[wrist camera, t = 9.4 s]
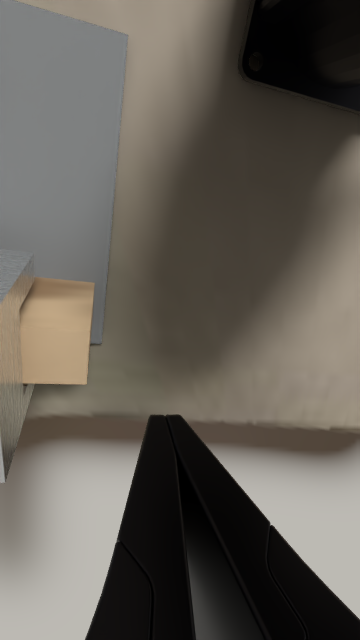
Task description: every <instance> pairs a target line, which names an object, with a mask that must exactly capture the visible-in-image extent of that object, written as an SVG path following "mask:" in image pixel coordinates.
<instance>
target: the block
mask: <svg viewBox="0 0 360 640" xmlns="http://www.w3.org/2000/svg"><path fill="white" fill-rule="evenodd" d="M94 286H95V283H92V282H82V281H72V280H61V279H51V278H41V277H35V280H34V282H33V284H32V286H31V288H30V290H29V292H28V294H27V296H26V298H25V299H24V301H23V303H22V305H21V307H20V309H19V316H20V336H21V355H22V375H23V383H34V384H87V374H88V363H89V352H90V341H91V330H92V316H93V301H94Z"/></svg>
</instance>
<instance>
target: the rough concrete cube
mask: <svg viewBox="0 0 360 640" xmlns="http://www.w3.org/2000/svg"><path fill="white" fill-rule="evenodd" d="M34 280H35V269H34V253H30V252H22V251H13V250H5V249H0V483H5V482H6V478H7V475H8V471H9V469H10V465H11V462H12V458H13V455H14V452H15V449H16V445H17V442H18V439H19V435H20V432H21V429H22V425H23V422H24V419H25V416H26V412H27V409H28V406H29V402H30V399H31V396H32V392H33V389H34V386H35V384H34V383H23V375H22V355H21V336H20V316H19V309H20V307H21V305H22V303H23V301H24V299H25V298H26V296H27V294H28V292H29V290H30V288H31V286H32V284H33V282H34Z"/></svg>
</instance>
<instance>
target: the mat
mask: <svg viewBox="0 0 360 640" xmlns="http://www.w3.org/2000/svg"><path fill="white" fill-rule="evenodd" d="M127 41H128V35H127V34H124V33H121V32H117V31H114V30H111V29H107V28H104V27H101V26H97V25H94V24H91V23H87V22H84V21H81V20H78V19H74V18H71V17H68V16H64V15H61V14H58V13H54V12H51V11H48V10H44V9H41V8H38V7H34V6H31V5H28V4H24V3H21V2H18V1H14V0H0V249H5V250H13V251H22V252H30V253H34V269H35V277H41V278H51V279H61V280H72V281H82V282H92V283H95V286H94V301H93V316H92V330H91V341H90V343H94V344H102V333H103V321H104V310H105V298H106V286H107V274H108V263H109V251H110V239H111V228H112V216H113V204H114V193H115V181H116V169H117V158H118V146H119V134H120V123H121V111H122V99H123V88H124V76H125V64H126V53H127Z"/></svg>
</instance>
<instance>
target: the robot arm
mask: <svg viewBox="0 0 360 640" xmlns="http://www.w3.org/2000/svg"><path fill="white" fill-rule="evenodd" d="M251 55H255V56H256V57H257V59H258V61H259V62H258V68H257V70H256V71H253V70H252V69H251V68H250V66H249V59H250V57H251ZM238 70H239V74H240V75H241V77H242V78H243V79H244V80H246V81H247V82H251V83H254V84H257V85H261V86H264V87H268V88H271V89H275V90H278V91H282V92H285V93H288V94H292V95H295V96H299V97H302V98H306V99H309V100H312V101H316V102H319V103H323V104H326V105H330V106H333V107H336V108H340V109H343V110H347V111H350V112H354V113H357V114H360V0H251V4H250V9H249V13H248V18H247V23H246V27H245V32H244V37H243V41H242V46H241V50H240V55H239V60H238ZM85 640H360V619H359V618H358V617H357V616H356V615H355V614H354V613H353V612H352V611H351V610H350V609H349V608H348V607H347V606H346V605H345V604H344V603H343V602H342V601H341V600H340V599H339V598H338V597H337V596H336V595H335V594H334V593H333V592H332V591H331V590H330V589H329V588H328V587H327V586H326V585H325V584H324V582H323V581H322V580H321V579H320V578H319V577H318V576H317V575H316V574H315V573H314V572H313V571H312V570H311V569H310V568H309V566H308V565H307V564H306V563H305V562H304V561H303V560H302V559H301V558H300V557H299V555H298V554H297V553H296V552H295V551H294V550H293V548H292V547H291V546H290V545H289V544H288V543H287V542H286V540H285V539H284V538H283V537H282V536H281V535H280V534H279V532H278V531H277V530H276V529H275V527H274V526H273V525H271V526H270V522H269V521H268V519H267V518H266V517H265V516H264V514H263V513H262V512H261V511H260V510H259V508H258V507H257V506H256V505H255V504H254V503H253V501H252V500H251V499H250V498H249V496H248V495H247V494H246V493H245V492H244V490H243V489H242V488H241V487H240V486H239V485H238V483H237V482H236V481H235V480H234V479H233V477H232V476H231V475H230V474H229V472H228V471H227V470H226V469H225V468H224V467H223V465H222V464H221V463H220V462H219V460H218V459H217V458H216V457H215V456H214V455H213V453H212V452H211V451H210V450H209V449H208V447H207V446H206V445H205V444H204V442H203V441H202V440H201V439H200V438H199V437H198V435H197V434H196V433H195V432H194V430H193V429H192V428H191V427H190V426H189V424H188V423H187V422H186V421H185V420H184V419H183V417H182V416H180V415H166V416H164V415H150V416H149V419H148V423H147V427H146V430H145V434H144V438H143V442H142V446H141V450H140V453H139V457H138V461H137V465H136V469H135V473H134V476H133V480H132V484H131V488H130V491H129V495H128V499H127V503H126V507H125V511H124V514H123V518H122V522H121V526H120V530H119V534H118V538H117V542H116V544H115V548H114V552H113V556H112V560H111V563H110V567H109V570H108V574H107V577H106V581H105V584H104V587H103V591H102V594H101V597H100V600H99V602H98V605H97V608H96V611H95V614H94V616H93V619H92V622H91V625H90V628H89V631H88V633H87V636H86V638H85Z"/></svg>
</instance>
